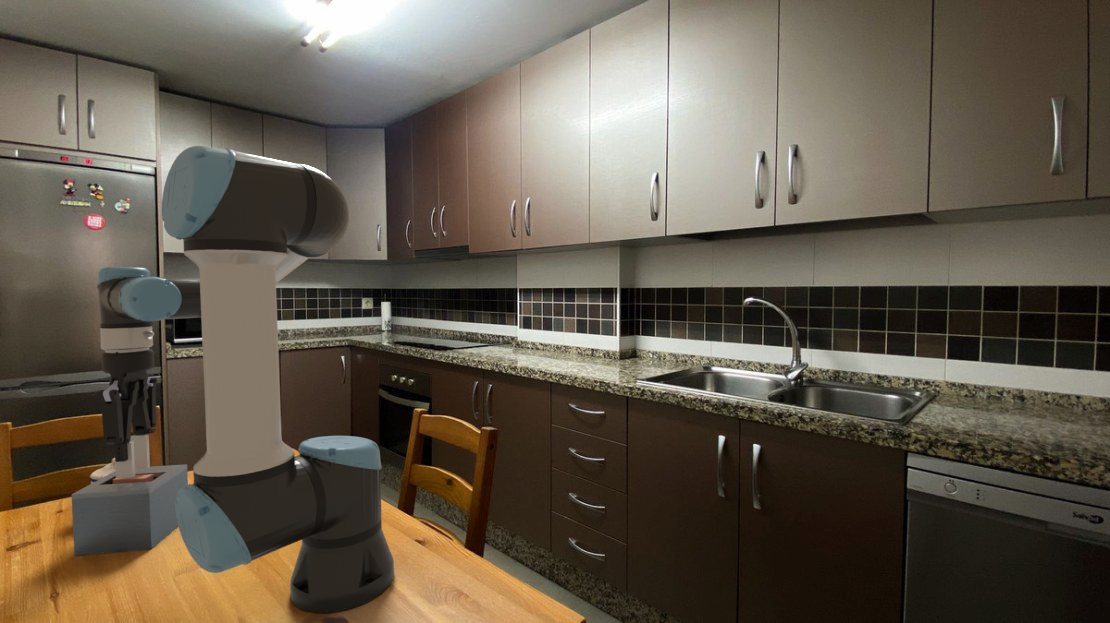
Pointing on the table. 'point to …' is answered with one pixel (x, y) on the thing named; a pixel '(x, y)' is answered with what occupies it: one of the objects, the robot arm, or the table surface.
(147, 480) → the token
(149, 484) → the grey hollow block
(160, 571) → the table surface
